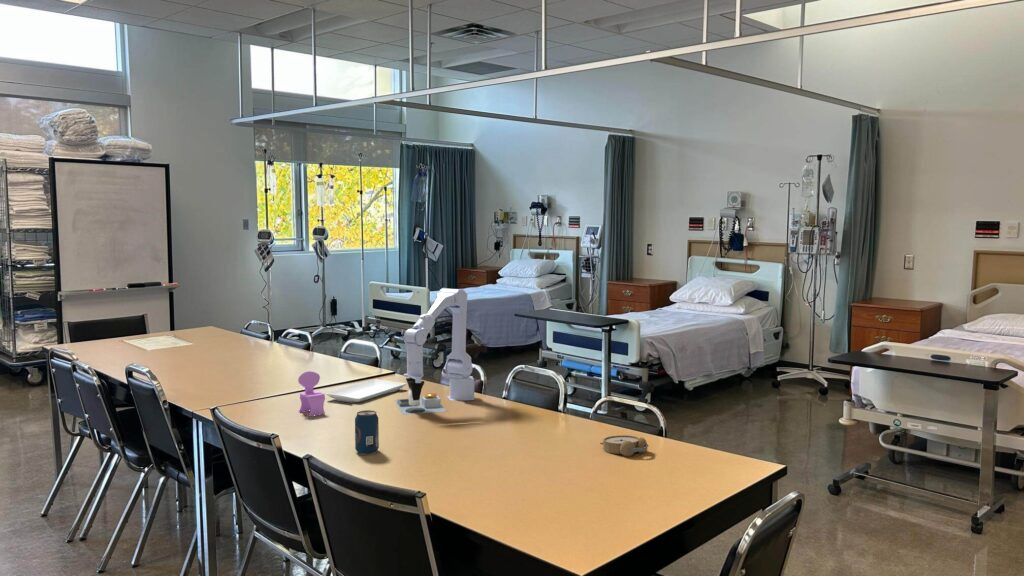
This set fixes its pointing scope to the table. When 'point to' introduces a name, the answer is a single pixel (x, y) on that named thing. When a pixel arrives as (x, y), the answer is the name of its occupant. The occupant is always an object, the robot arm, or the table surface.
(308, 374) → the toy chair
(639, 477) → the table surface
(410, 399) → the cartridge
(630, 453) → the alarm clock
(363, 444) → the soda can
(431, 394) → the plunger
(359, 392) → the tray
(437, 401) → the panel
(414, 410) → the rubber pad
